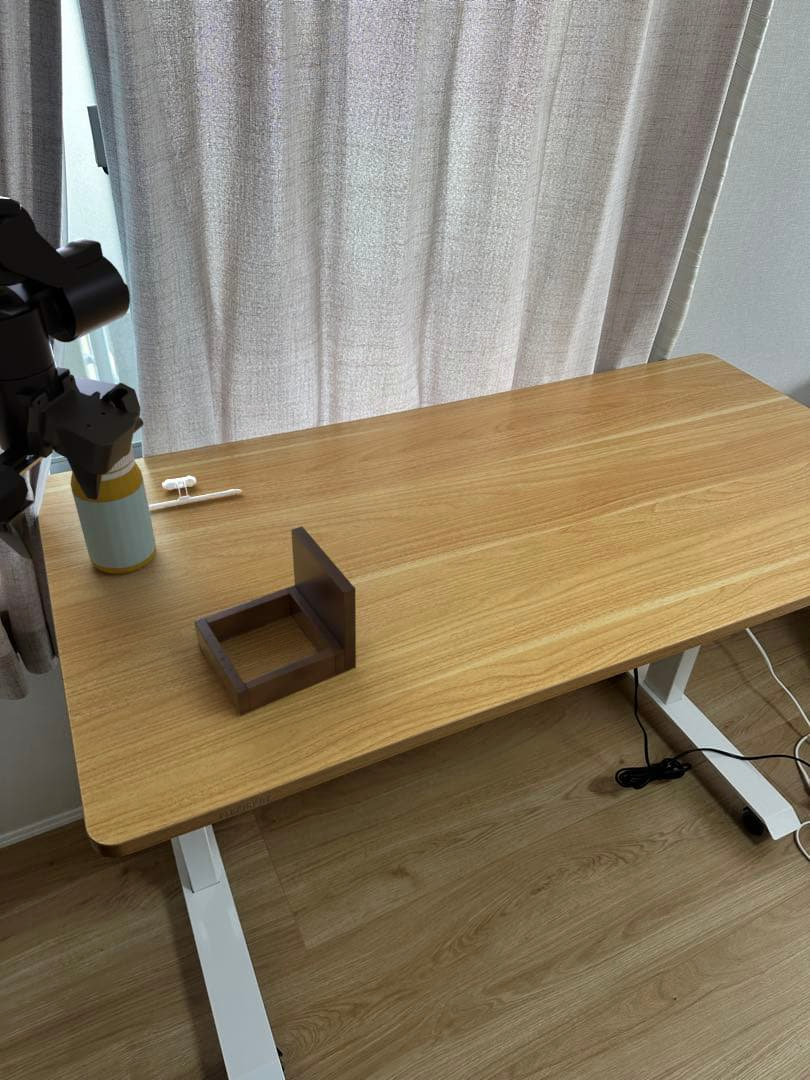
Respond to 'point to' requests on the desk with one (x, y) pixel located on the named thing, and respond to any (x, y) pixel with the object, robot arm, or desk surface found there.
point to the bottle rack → (318, 610)
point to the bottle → (117, 519)
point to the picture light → (187, 499)
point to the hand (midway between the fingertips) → (62, 526)
